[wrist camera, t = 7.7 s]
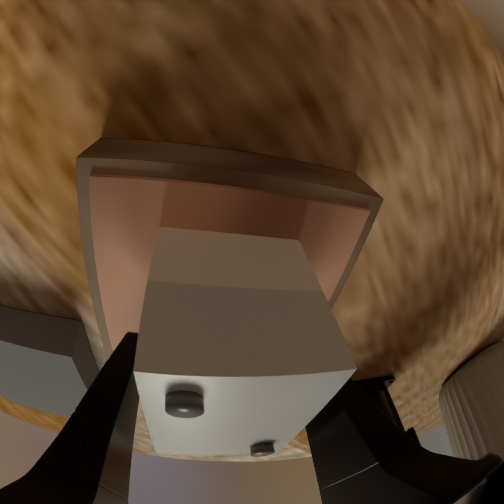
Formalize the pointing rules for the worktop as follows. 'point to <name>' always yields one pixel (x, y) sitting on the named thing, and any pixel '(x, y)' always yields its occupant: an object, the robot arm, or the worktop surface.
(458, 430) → the canister
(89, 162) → the brown square tray
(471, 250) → the worktop surface
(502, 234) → the worktop surface
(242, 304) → the two-plate housing
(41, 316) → the slate stand
